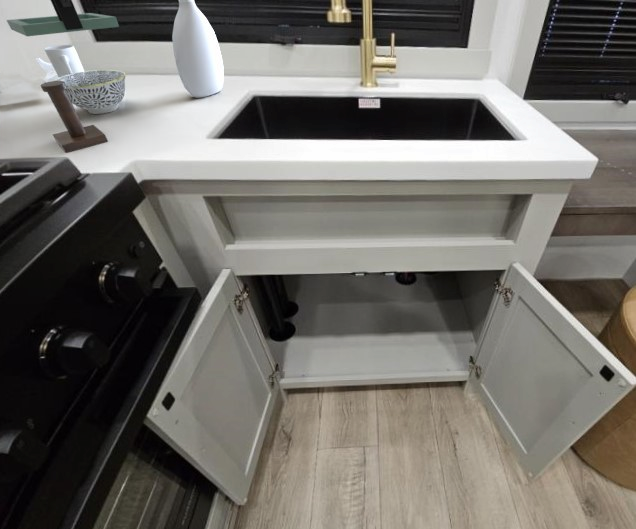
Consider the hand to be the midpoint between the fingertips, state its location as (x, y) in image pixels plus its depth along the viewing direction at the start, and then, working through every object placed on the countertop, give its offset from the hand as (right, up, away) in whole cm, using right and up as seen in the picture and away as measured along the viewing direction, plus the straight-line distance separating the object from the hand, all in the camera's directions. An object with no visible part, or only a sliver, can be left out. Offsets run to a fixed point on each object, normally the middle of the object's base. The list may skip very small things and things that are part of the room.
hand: (73, 28), depth 62 cm
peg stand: (-3, -19, +7) cm, 21 cm away
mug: (-20, +2, +30) cm, 36 cm away
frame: (-5, +3, +4) cm, 7 cm away
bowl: (-9, -5, +22) cm, 24 cm away
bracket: (-35, +13, +42) cm, 57 cm away
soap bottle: (+14, +4, +32) cm, 35 cm away
